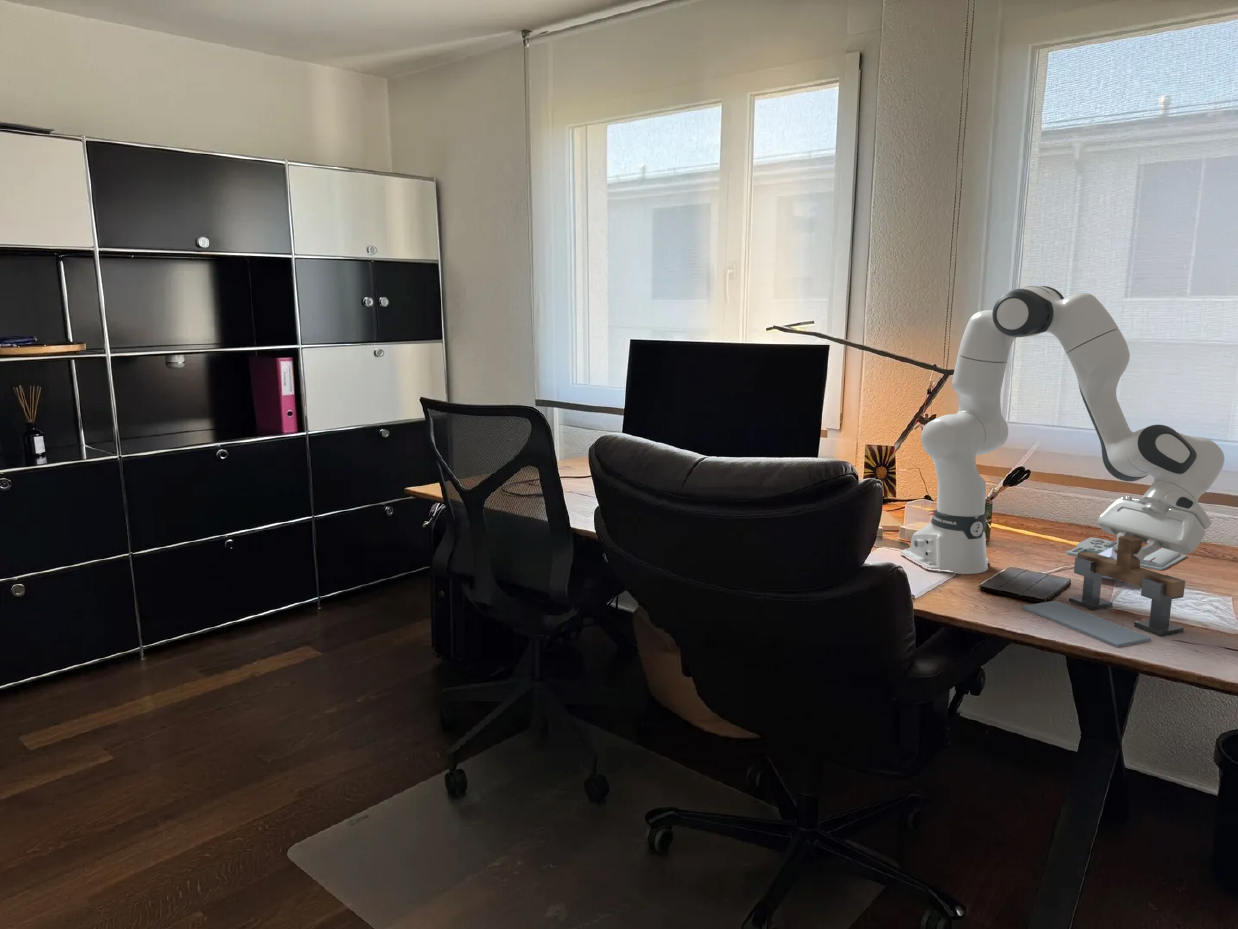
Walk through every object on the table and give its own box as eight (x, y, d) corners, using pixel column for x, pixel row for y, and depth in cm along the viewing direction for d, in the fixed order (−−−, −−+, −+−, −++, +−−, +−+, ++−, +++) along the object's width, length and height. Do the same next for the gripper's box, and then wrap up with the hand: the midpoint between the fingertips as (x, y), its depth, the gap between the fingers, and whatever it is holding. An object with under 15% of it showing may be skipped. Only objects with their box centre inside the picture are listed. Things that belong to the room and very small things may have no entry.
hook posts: (1067, 602, 187) (1071, 556, 185) (1089, 598, 189) (1093, 552, 187) (1160, 637, 167) (1166, 586, 165) (1184, 632, 169) (1190, 582, 167)
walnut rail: (1076, 566, 186) (1079, 526, 184) (1086, 564, 187) (1090, 525, 185) (1171, 597, 166) (1176, 553, 164) (1182, 595, 167) (1187, 551, 165)
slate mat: (1022, 608, 183) (1022, 606, 183) (1054, 603, 186) (1054, 600, 186) (1116, 647, 162) (1117, 644, 162) (1151, 640, 165) (1151, 637, 165)
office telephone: (1188, 550, 218) (1162, 566, 205) (1186, 559, 219) (1161, 576, 206) (1091, 532, 235) (1061, 546, 222) (1090, 541, 236) (1061, 555, 223)
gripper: (1114, 486, 185) (1077, 534, 184) (1206, 505, 166) (1165, 559, 165) (1127, 504, 187) (1090, 551, 186) (1220, 525, 169) (1179, 578, 167)
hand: (1126, 555), depth 175 cm, fingers closed on walnut rail, 3 cm apart
